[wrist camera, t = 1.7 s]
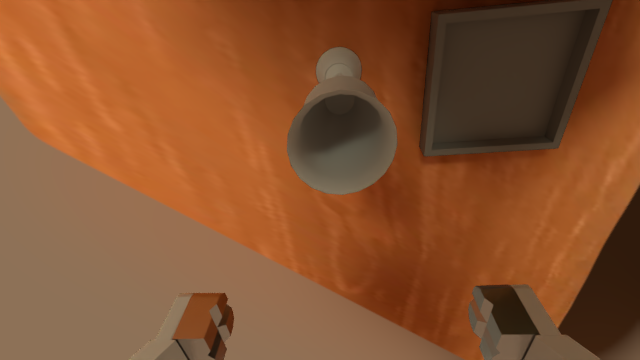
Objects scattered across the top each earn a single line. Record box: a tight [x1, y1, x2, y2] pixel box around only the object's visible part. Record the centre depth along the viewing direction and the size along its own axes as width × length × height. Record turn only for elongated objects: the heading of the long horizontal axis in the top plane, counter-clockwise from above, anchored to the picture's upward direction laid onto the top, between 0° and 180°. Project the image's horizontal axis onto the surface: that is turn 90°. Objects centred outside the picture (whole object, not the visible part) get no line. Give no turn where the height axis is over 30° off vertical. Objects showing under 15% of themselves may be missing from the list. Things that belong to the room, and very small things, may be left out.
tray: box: [419, 0, 612, 156], centre depth 33 cm, size 15×15×2 cm
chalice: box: [287, 47, 397, 195], centre depth 27 cm, size 7×7×18 cm
